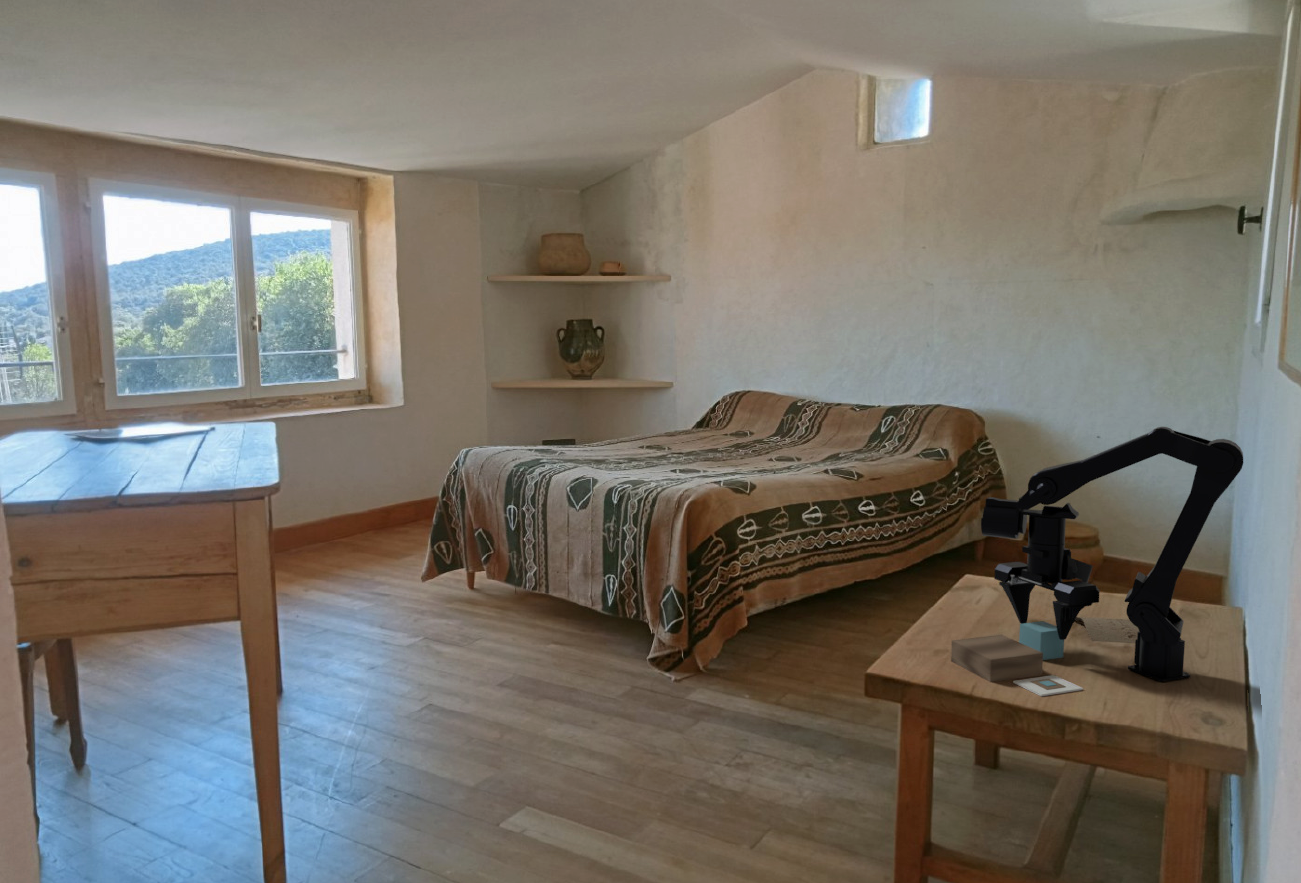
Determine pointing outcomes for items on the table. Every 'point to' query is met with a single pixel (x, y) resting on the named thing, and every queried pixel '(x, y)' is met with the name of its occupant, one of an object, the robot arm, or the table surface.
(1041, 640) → the teal cube
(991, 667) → the walnut block
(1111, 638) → the clay tablet
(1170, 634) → the robot arm
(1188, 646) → the table surface
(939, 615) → the table surface
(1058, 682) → the card
